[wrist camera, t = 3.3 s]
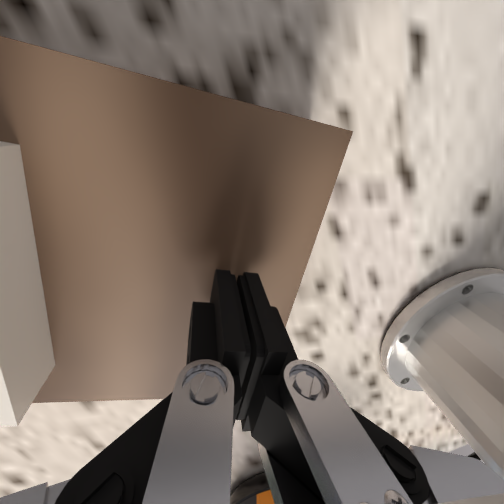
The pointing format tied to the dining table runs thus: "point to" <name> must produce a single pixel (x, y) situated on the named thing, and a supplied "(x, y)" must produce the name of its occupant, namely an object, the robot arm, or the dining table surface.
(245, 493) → the supplement container
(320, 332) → the dining table surface
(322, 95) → the dining table surface
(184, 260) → the deck
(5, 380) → the white rectangular block
